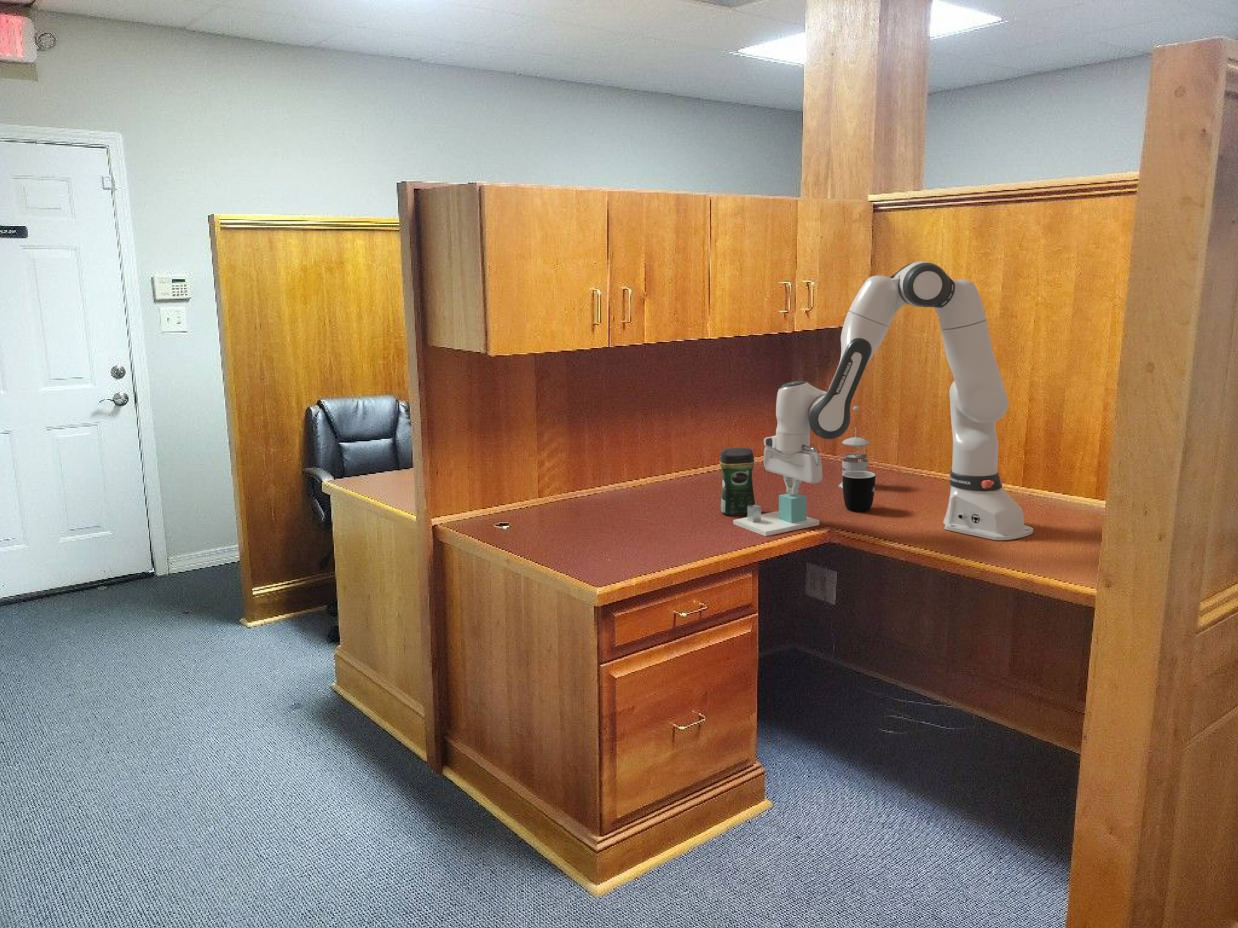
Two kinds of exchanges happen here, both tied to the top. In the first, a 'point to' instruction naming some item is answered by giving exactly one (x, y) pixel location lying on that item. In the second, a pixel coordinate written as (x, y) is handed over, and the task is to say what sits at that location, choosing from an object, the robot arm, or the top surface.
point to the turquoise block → (792, 507)
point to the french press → (854, 455)
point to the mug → (858, 490)
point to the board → (773, 524)
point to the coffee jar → (736, 480)
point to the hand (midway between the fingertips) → (792, 493)
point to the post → (754, 513)
